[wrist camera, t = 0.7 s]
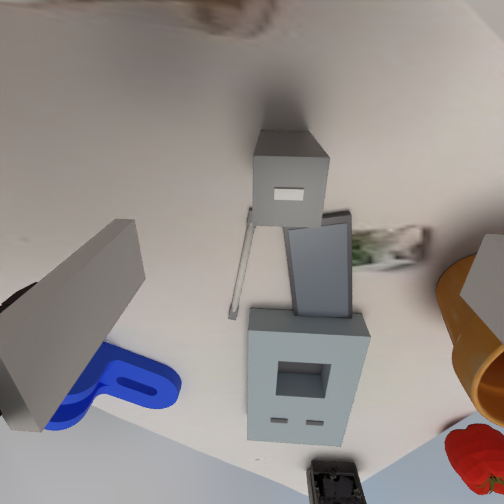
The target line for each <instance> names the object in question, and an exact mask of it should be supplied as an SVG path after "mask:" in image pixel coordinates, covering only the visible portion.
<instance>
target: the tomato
mask: <svg viewBox="0 0 504 504" xmlns="http://www.w3.org/2000/svg"><path fill="white" fill-rule="evenodd" d="M445 451H446V453H447V456H448V459H449V461H450V463H451V465H452V467H453V468H454V470H455V471H456V472H457V473H458V474H459V475H460V477H461V478H462V480H463V481H464V482H465V483H466V484H467V486H468V487H469V488H470V489H471V490H472V491H474V492H475V493H476V494H478V495H484V494H488V492H489V491H490V490H491V492H492V491H494V492H495V493H499V494H503V495H504V435H503V434H502V433H501V432H499V431H497V430H495V429H493V428H492V427H490V426H489V425H486V424H471V425H468V427H467V428H466V429H456V430H453V431H451V432H450V433H449V434H448V435H447V437H446V440H445ZM491 492H490V493H491ZM490 493H489V494H490Z"/></svg>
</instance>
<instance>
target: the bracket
mask: <svg viewBox="0 0 504 504" xmlns="http://www.w3.org/2000/svg"><path fill="white" fill-rule="evenodd" d="M180 389H181V379H180V377H179V375H178V374H177V373H176V372H175V371H174V370H173V369H172V368H170V367H169V366H167V365H164V364H162V363H159V362H157V361H154V360H151V359H149V358H146V357H143V356H141V355H138V354H135V353H133V352H130V351H128V350H125V349H122V348H120V347H117V346H114V345H112V344H109V343H106V342H104V341H103V342H102V344H101V345H100V347H99V348H98V350H97V351H96V353H95V354H94V356H93V357H92V359H91V360H90V362H89V363H88V365H87V366H86V367H85V369H84V370H83V372H82V373H81V375H80V376H79V378H78V379H77V381H76V382H75V384H74V385H73V387H72V388H71V390H70V391H69V393H68V394H67V395H66V397H65V398H64V400H63V401H62V403H61V404H60V406H59V407H58V409H57V410H56V412H55V413H54V415H53V416H52V418H51V419H50V421H49V422H48V424H47V425H46V426H45V428H44V429H46V430H53V431H54V430H56V431H57V430H63V429H67V428H69V427H71V426H73V425H75V424H76V423H78V422H79V421H80V420H81V419H82V418H83V417H84V416H85V414H86V412H87V411H88V409H89V407H90V406H91V404H92V402H93V400H94V399H95V397H96V396H98V395H100V394H108V395H111V396H114V397H117V398H120V399H123V400H126V401H128V402H131V403H134V404H137V405H140V406H143V407H146V408H151V409H163V408H167V407H170V406H171V405H173V404H174V403H175V402H176V401H177V398H178V395H179V392H180Z"/></svg>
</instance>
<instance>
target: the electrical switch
mask: <svg viewBox="0 0 504 504" xmlns="http://www.w3.org/2000/svg"><path fill="white" fill-rule="evenodd" d="M319 463H320V464H319ZM327 466H328V470H327ZM337 467H338V470H337ZM331 468H335V471H330V469H331ZM306 475H307V485H308V493H309V502H310V504H367V503H366V500H365V496H364V493H363V490H362V486H361V483H360V479H359V476H358V472H357V469H356V466H355V465H354V463H348V462H326V461H311V470H310V469H308V471H307V472H306Z"/></svg>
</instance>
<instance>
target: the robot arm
mask: <svg viewBox="0 0 504 504" xmlns="http://www.w3.org/2000/svg"><path fill="white" fill-rule="evenodd" d="M144 280H145V273H144V268H143V263H142V257H141V252H140V246H139V241H138V236H137V230H136V225H135V220H130V219H115V220H113V221H112V222H111V223H110V224H109V225H107V226H106V227H105V228H104V229H102V230H101V231H100V232H99V233H98V234H96V235H95V236H94V237H93V238H92V239H90V240H89V241H88V242H87V243H85V244H84V245H83V246H82V247H81V248H79V249H78V250H77V251H76V252H75V253H73V254H72V255H71V256H70V257H68V258H67V259H66V260H65V261H64V262H62V263H61V264H60V265H59V266H57V267H56V268H55V269H54V270H53V271H51V272H50V273H49V274H48V275H47V276H45V277H44V278H43V279H42V280H40V281H39V282H35V283H33V284H31V285H29V286H27V287H25V288H23V289H21V290H19V291H17V292H16V293H14V294H13V295H12V296H11V297H9V298H8V299H7V300H6V301H4V302H3V303H2V305H1V306H0V416H1V415H2V416H3V418H4V419H5V421H6V423H7V424H8V426H9V428H10V429H11V430H17V431H29V432H42V431H43V429H44V428H45V426H46V425H47V424H48V422H49V421H50V419H51V418H52V416H53V415H54V413H55V412H56V410H57V409H58V407H59V406H60V404H61V403H62V401H63V400H64V398H65V397H66V395H67V394H68V393H69V391H70V390H71V388H72V387H73V385H74V384H75V382H76V381H77V379H78V378H79V376H80V375H81V373H82V372H83V370H84V369H85V367H86V366H87V365H88V363H89V362H90V360H91V359H92V357H93V356H94V354H95V353H96V351H97V350H98V348H99V347H100V345H101V344H102V342H103V341H104V339H105V338H106V336H107V335H108V334H109V332H110V331H111V329H112V328H113V326H114V325H115V323H116V322H117V320H118V319H119V317H120V316H121V314H122V313H123V311H124V310H125V308H126V307H127V306H128V304H129V303H130V301H131V300H132V298H133V297H134V295H135V294H136V292H137V291H138V289H139V288H140V286H141V285H142V283H143V282H144ZM460 296H461V297H462V298H463V299H464V300H465V302H466V303H467V304H468V305H469V306H470V307H471V308H472V309H473V311H474V312H475V313H476V314H477V315H478V316H479V317H480V318H481V320H482V321H483V322H484V323H485V324H486V325H487V326H488V327H489V329H490V330H491V331H492V332H493V333H494V334H495V335H496V336H497V338H498V339H499V340H500V341H501V342H502V343H503V344H504V234H485V236H484V238H483V241H482V243H481V245H480V248H479V250H478V252H477V255H476V257H475V259H474V262H473V264H472V267H471V269H470V271H469V274H468V276H467V278H466V281H465V283H464V285H463V288H462V290H461V293H460Z"/></svg>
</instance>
